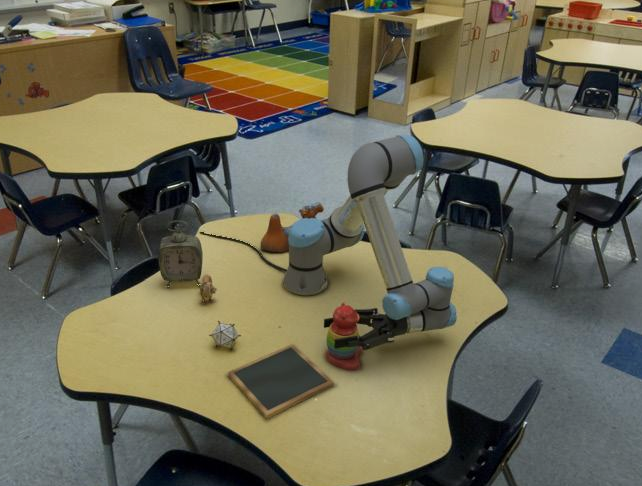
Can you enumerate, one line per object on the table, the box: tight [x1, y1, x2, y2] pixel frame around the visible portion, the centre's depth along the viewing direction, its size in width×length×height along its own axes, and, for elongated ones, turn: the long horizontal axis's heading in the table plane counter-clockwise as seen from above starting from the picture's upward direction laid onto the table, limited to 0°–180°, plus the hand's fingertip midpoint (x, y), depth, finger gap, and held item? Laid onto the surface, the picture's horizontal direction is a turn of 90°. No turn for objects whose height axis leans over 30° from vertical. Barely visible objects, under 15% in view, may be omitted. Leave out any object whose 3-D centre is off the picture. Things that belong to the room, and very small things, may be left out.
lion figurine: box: [199, 274, 218, 305], centre depth 197 cm, size 15×5×9 cm, turn 13°
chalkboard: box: [227, 343, 334, 420], centre depth 163 cm, size 20×22×2 cm
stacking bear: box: [326, 301, 362, 371], centre depth 167 cm, size 11×10×18 cm
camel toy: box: [260, 201, 325, 253], centre depth 224 cm, size 25×13×17 cm, turn 89°
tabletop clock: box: [157, 220, 204, 289], centre depth 201 cm, size 14×9×25 cm, turn 93°
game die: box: [208, 320, 242, 351], centre depth 175 cm, size 9×8×10 cm
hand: (329, 333), depth 166 cm, fingers closed on stacking bear, 9 cm apart
